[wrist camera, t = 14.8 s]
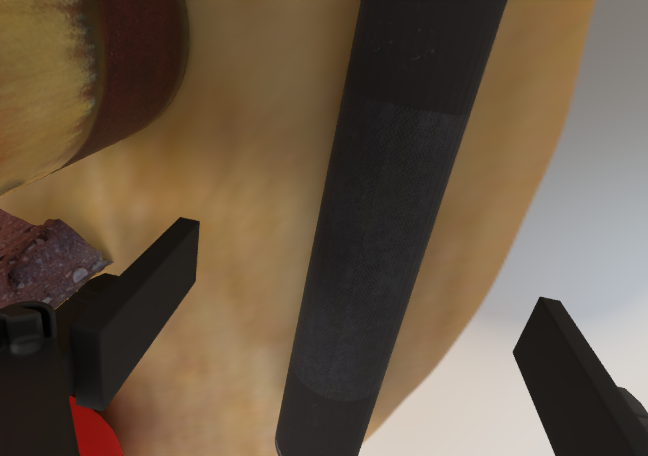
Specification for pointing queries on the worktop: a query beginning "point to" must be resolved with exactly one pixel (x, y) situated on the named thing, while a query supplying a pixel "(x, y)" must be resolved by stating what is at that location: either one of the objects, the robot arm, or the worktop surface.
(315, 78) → the worktop surface
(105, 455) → the tomato
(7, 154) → the vase
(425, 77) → the suppressor
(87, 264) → the rock
